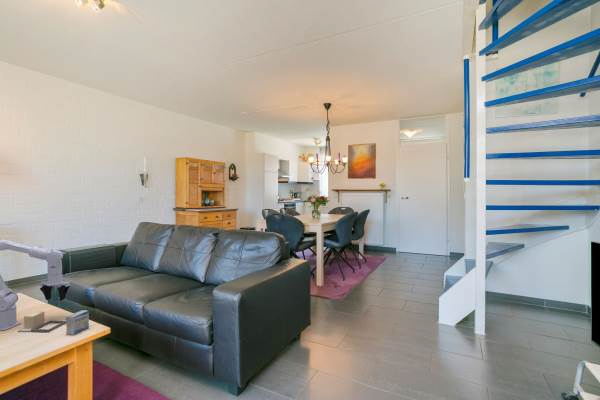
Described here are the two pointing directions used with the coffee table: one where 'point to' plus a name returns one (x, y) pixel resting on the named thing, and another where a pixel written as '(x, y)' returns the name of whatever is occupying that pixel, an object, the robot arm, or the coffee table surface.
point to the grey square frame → (37, 329)
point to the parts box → (33, 320)
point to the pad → (25, 330)
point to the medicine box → (77, 322)
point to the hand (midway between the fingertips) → (55, 299)
